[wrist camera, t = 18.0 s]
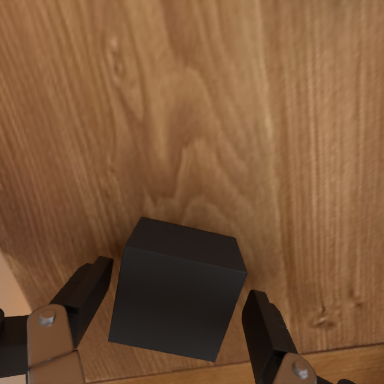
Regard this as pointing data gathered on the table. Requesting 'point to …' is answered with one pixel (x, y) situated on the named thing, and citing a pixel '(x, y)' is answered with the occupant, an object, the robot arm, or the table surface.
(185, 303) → the pad
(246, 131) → the table surface
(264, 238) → the table surface
